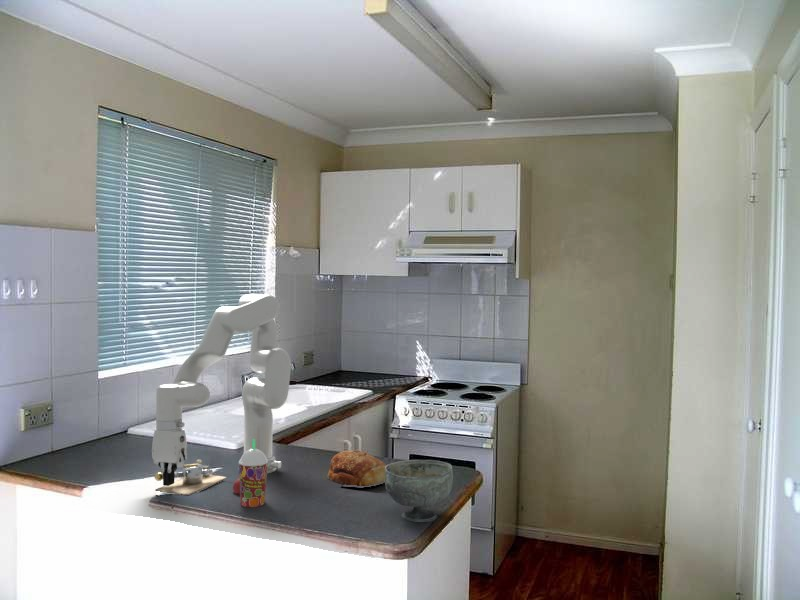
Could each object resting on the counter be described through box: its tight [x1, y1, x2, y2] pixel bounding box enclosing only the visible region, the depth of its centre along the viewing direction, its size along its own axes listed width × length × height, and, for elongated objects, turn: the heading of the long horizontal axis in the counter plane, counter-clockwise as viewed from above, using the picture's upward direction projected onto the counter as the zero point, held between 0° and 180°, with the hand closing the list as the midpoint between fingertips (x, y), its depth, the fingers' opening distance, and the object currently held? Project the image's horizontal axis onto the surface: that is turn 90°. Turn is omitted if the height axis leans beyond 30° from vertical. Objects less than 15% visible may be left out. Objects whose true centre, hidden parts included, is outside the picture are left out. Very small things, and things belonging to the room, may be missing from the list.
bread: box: [327, 449, 388, 486], centre depth 226 cm, size 20×18×10 cm
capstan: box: [154, 463, 214, 485], centre depth 213 cm, size 18×6×6 cm, turn 115°
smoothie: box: [238, 439, 268, 508], centre depth 197 cm, size 8×8×20 cm
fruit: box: [232, 477, 240, 495], centre depth 207 cm, size 6×6×8 cm
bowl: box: [384, 459, 454, 523], centre depth 191 cm, size 20×19×15 cm
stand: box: [154, 459, 228, 496], centre depth 214 cm, size 12×20×7 cm, turn 160°
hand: (168, 484), depth 208 cm, fingers closed
